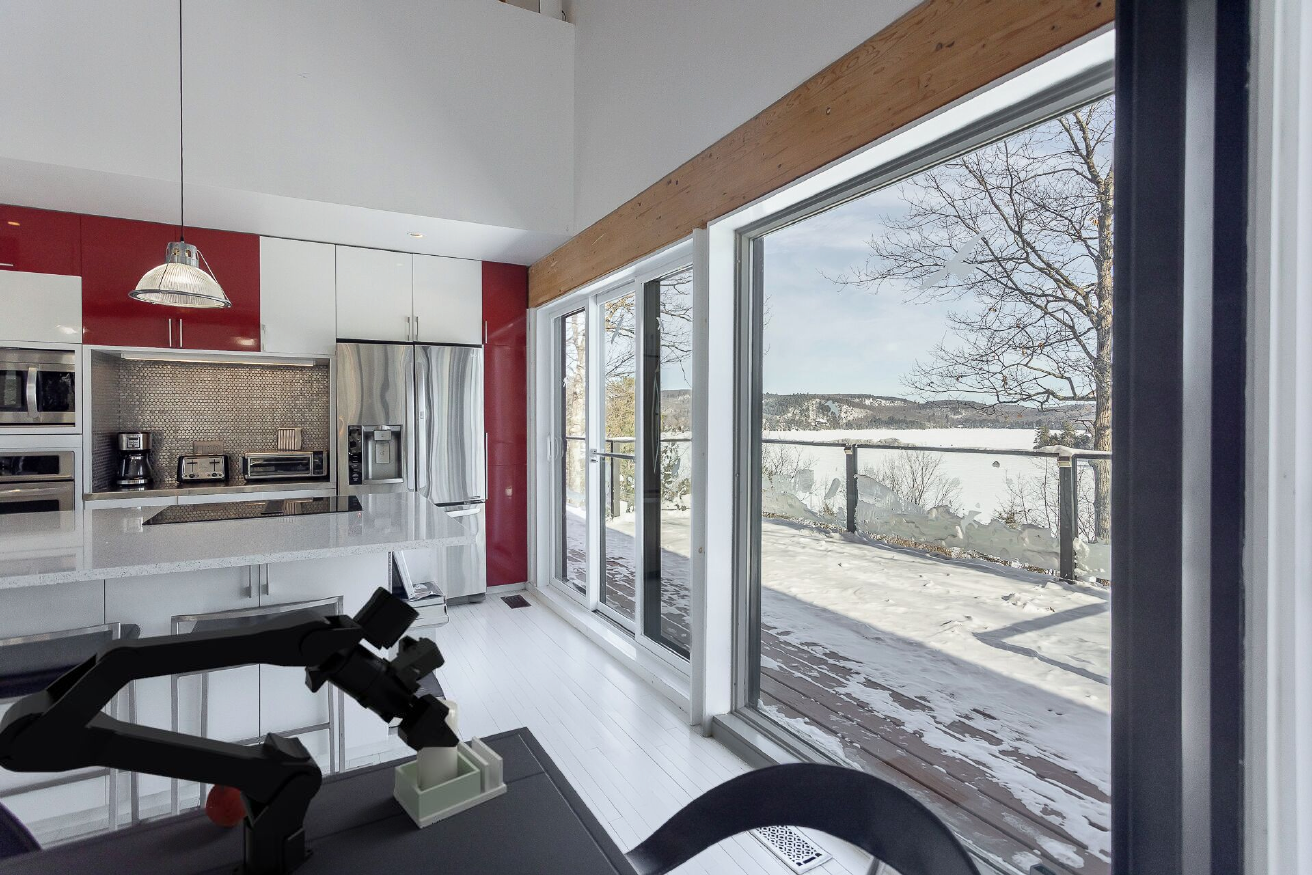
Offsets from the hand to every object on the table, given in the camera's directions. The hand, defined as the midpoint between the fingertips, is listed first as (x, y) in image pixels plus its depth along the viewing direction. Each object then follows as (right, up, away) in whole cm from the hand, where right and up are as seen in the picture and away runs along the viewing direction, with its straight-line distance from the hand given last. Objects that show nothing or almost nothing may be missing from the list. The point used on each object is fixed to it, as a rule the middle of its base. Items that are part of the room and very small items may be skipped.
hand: (443, 731), depth 93 cm
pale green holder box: (+1, -10, +1) cm, 10 cm away
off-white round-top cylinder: (-1, -9, 0) cm, 9 cm away
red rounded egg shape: (-27, -10, -7) cm, 29 cm away
